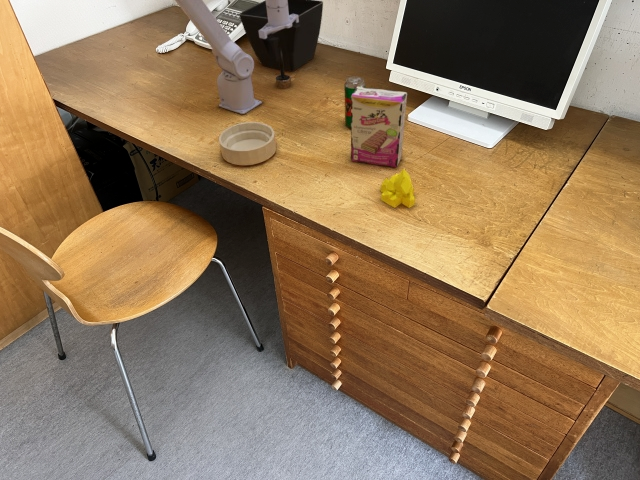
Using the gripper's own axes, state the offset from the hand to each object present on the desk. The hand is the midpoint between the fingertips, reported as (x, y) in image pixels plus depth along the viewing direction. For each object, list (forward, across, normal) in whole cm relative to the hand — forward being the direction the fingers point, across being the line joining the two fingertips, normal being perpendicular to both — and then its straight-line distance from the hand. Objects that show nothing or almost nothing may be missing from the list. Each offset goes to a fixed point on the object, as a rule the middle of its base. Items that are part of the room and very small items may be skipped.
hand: (282, 56), depth 134 cm
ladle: (+9, +1, +2) cm, 10 cm away
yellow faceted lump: (+10, -29, -54) cm, 62 cm away
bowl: (+9, -32, -15) cm, 36 cm away
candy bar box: (+10, -19, -42) cm, 47 cm away
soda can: (+10, -8, -30) cm, 32 cm away
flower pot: (+10, +15, +12) cm, 21 cm away
